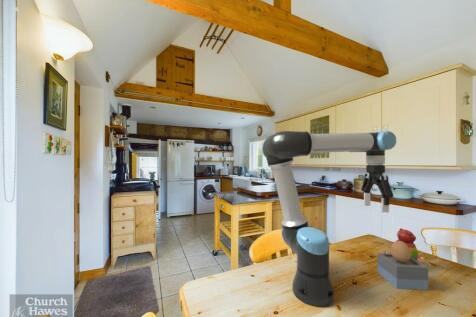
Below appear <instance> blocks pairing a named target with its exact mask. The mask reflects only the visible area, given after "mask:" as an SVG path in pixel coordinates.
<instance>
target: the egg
mask: <svg viewBox="0 0 476 317" xmlns="http://www.w3.org/2000/svg"><path fill="white" fill-rule="evenodd" d="M390 253H391V254H392V256H393V258H394V259H395V260H397V261H398V262H401V263H405V262H407V261H409V260H410V258H411V252H410V249H409V247H408V246H407V245H406V244H405V243H404V242H402V241H397V240H395V241H394V242H393V243H392V245H391V247H390Z"/></svg>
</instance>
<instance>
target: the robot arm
mask: <svg viewBox="0 0 476 317" xmlns="http://www.w3.org/2000/svg"><path fill="white" fill-rule="evenodd" d="M396 144H397V136H396V135H395V133H393V131H389V130H385V131H378V132H377V131H374V132H373V131H372V132H341V133H337V132H336V133H311V132H309V131H301V130H300V131H298V130H296V131H295V130H282V131H277V132H276V133H273V134H270V135H269V136H268V137H267V138H265V139H264V141H263V142H262V145H261V152H262V154H263V156H264V157H265V158H266V162H267V166H268V167H269V168H271V170H272V172H273V178H274V181H275V186H276V192H277V196H278V199H279V203H280V208H281V212H282V217H283V219H282V221H281V226H282V228H281V231H280V232H281V237H282V240H283V242H284V243H285V245H287V246H288V247H289V248H290V249H291V250H292V251H293V253H294V254H295V255H296V270H295V271H296V272H295V274H294V278H293V280H292V285H291V286H292V288H291V289H292V294H294V296H295V297H296V298H297V299H298V300H300V301H301V302H303V303H305V304H308V305H310V306H314V307H326V306H330V305H331V304H333V302H334V301H335V290H334V287H333V284H332V282H331V277H330V241H329V237H328V235H327V234H326V233H325V232H324V231H322V230H320V229H318V228H317V229H316V228H315V227H310V226H309V225H310V224H309V222H308V219H307V218H308V217H305V216H304V215H303V211H302V207H301V202H300V199H299V193H298V190H297V186H296V181H295V177H294V172H293V168H292V164H293V162H294V158H297V157H305V156H306V157H307V156H309V155H311V154H317V153H319V154H320V153H321V154H323V153H344V152H346V153H365V164H366V166H365V171H366V173H364V178H363V182H362V185H361V191H362V192H363V207H364V206H365V207H370V206H371V189H372V188H373V186H374V185H376V187H377V188H378V190H379V192H380V195H381V213H390V198H394V193H393V190H392V187H391V184H390V182H389V176H388V175H386V174H385V173H386V166H385V164H386V151H389V150H392V149H393V148H394V147H395V146H396ZM383 174H385V175H383Z"/></svg>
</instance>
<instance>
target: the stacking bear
mask: <svg viewBox="0 0 476 317" xmlns="http://www.w3.org/2000/svg"><path fill="white" fill-rule="evenodd" d="M396 236H397V240H396V241H402V242H404V243H405V244H406V245H407V246H408V247H409V249H410V252H411V258H413V259H414V260H416V261H418V259H419V254H418V253H419V252H418V249H417V246H416V244H415V243H414V242H415V241H416V240H417V237H416V235H415V234H413V232H412V231H410V230H408V229H403V228H399V229H398V231H397V233H396Z"/></svg>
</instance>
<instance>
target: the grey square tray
mask: <svg viewBox="0 0 476 317" xmlns="http://www.w3.org/2000/svg"><path fill="white" fill-rule="evenodd" d="M377 274H379V275H380V276H381V277H382V278H384V279H385V280H386V281H387V282H388V283H389V284H390V285H392V286H393V287H394V288H396V289H397V290H414V291H415V290H417V291H429V267H428V266H426V265H425V264H423V263H421V262H419V261H418V260H417V261H416V260H414V259H413V258H410V260H409V261H407V262H405V263H401V262H398V261H397V260H395V259H394V258H393V256H392V254H391V252H377Z"/></svg>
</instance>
